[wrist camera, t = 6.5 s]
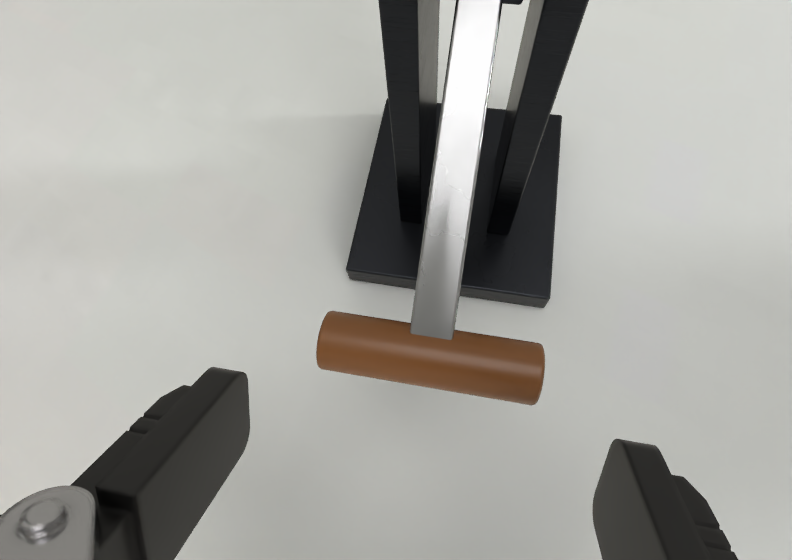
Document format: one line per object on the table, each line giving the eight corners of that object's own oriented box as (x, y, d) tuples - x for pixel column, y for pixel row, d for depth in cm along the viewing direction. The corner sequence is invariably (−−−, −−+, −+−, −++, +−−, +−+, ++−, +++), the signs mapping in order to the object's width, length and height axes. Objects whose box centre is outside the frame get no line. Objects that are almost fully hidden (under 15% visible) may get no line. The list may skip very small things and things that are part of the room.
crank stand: (544, 308, 21) (753, 10, 8) (349, 279, 22) (230, -27, 9) (556, 130, 25) (712, -286, 11) (388, 113, 26) (347, -285, 12)
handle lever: (526, 391, 13) (541, 419, 11) (332, 358, 14) (307, 378, 12) (603, -98, 13) (637, -181, 10) (394, -108, 13) (380, -189, 11)
